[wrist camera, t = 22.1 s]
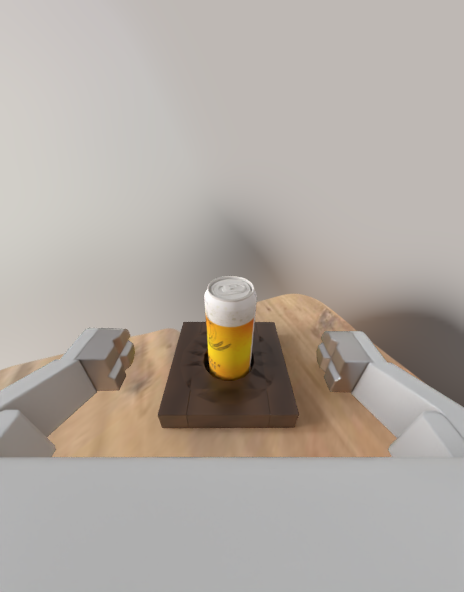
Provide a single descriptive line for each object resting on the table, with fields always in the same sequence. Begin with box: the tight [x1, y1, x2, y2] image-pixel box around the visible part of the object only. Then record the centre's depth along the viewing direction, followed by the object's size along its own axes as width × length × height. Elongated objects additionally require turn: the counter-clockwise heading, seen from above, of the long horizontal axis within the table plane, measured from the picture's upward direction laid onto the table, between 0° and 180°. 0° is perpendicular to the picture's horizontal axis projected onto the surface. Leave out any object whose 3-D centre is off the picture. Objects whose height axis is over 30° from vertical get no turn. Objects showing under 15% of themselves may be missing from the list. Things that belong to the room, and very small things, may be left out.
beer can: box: [204, 276, 257, 381], centre depth 28 cm, size 6×6×15 cm
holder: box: [158, 322, 299, 428], centre depth 31 cm, size 16×16×3 cm
